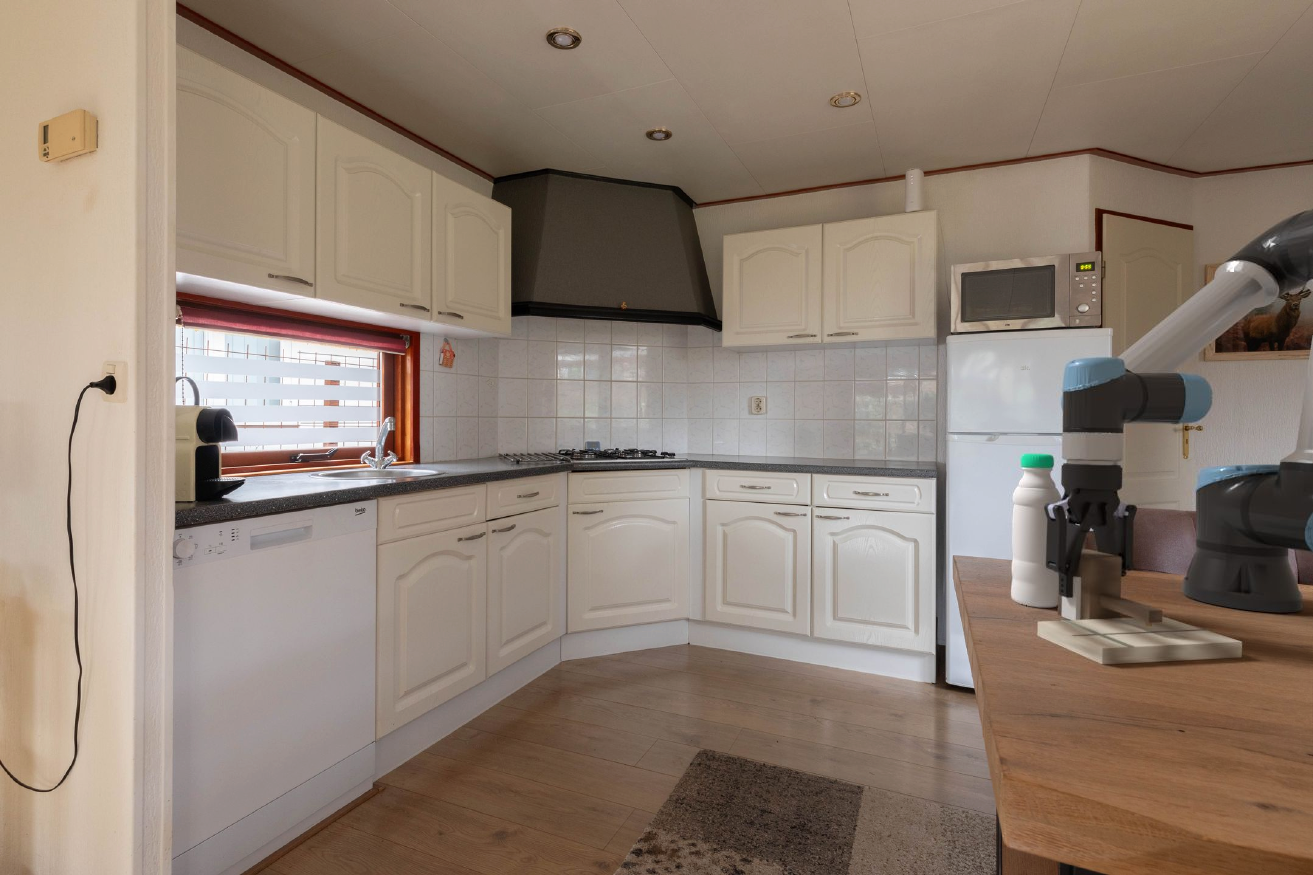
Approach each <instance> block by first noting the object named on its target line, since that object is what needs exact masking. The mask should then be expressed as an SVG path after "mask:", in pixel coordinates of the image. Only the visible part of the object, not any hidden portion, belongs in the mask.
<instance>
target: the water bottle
mask: <svg viewBox="0 0 1313 875" xmlns="http://www.w3.org/2000/svg"><path fill="white" fill-rule="evenodd" d="M1054 466H1055V459H1054V456H1053V455H1052V454H1049V453H1024V454H1022V455H1021V457H1020V467H1021V470H1022V471H1023V476H1022V477H1021V479H1020V480H1019V482H1018V483H1017V484H1018V486H1016V488H1015V489H1014V491H1013V494H1012V503H1013V509H1012V510H1013V511H1012V526H1011V544H1012V545H1011V546H1012V547H1011V548H1012V549H1011V550H1012V557H1013V558H1012V561H1011V577H1012V579H1011V588H1010V589H1011V590H1010V598H1011V599H1012V600H1013V601H1014V602H1015V603H1017V604H1019V605H1022V604H1023V605H1022V606H1026V605H1027V607H1031V608H1040V609H1050V608H1055V607H1058V575H1059V574H1058V573H1057V572H1055V571H1053V570H1051V569H1048V568H1047V567H1046V543H1047V517H1046V513H1045V510H1044V506H1045V504H1055V503H1058V502H1060V501H1061V499H1062V496H1061V493H1060V491H1059V490H1058V488H1057V486H1056V483H1055V481H1054V480H1053V478H1052V477H1051V473H1052V471H1053V470H1054V469H1053V468H1054Z"/></svg>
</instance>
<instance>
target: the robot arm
mask: <svg viewBox="0 0 1313 875" xmlns="http://www.w3.org/2000/svg"><path fill="white" fill-rule="evenodd" d="M1302 287H1303V288H1304V287H1306V288H1308V290H1310V291H1311V292H1313V208H1312V209H1309V210H1305V211H1302V212H1298V213H1296V214H1293V215H1291V216H1289V217H1287V218H1284V219H1283V220H1281V221H1279V222H1278V223H1276V224H1275V225H1273V226H1271V227H1269V228H1268V229H1267V230H1265V231H1264V232H1262V233H1260V235H1258V236H1257V237H1255V238H1253V239H1252V240H1251V241H1250V242H1248V243H1247V244H1246V245H1245V246H1243V247H1242V248H1241V249H1240V250H1238V251H1237V252H1236V253H1234V254H1233V255H1232V256H1231V257H1229V258H1228V259H1227V260H1226V261H1225V262H1223V263H1221V265H1220V266H1218V267H1217V269H1216V270H1215V272H1214V277H1213V279H1212V280H1211V281H1210V282H1209V283H1207V284H1206V285H1205V286H1204V287H1202V288H1201V289H1200V290H1199V291H1198V292H1196V293H1195V294H1194V295H1192V296H1191V297H1190V298H1189V299H1188V300H1186V301H1185V302H1184V303H1182V305H1180V306H1179V307H1177V309H1176V310H1174V311H1173V312H1172V313H1171V314H1169V315H1168V316H1167V317H1165V318H1164V319H1163V320H1162V321H1160V322H1159V323H1158V324H1157V325H1155V326H1154V327H1153V328H1152V329H1150V331H1148V332H1146V334H1144V335H1143V336H1142V337H1141V338H1140V339H1138V340H1137V341H1136V342H1134V343H1133V344H1132V345H1131V346H1130V347H1128V348H1127V349H1126V350H1125V351H1124V352H1122V353H1121V354H1120V355H1119V356H1117V357H1112V356H1109V357H1108V356H1107V357H1106V356H1104V357H1102V356H1101V357H1098V356H1097V357H1087V358H1085V357H1084V358H1076V359H1072V360H1070V361H1068V362H1067V364H1065V367H1064V370H1063V371H1064V372H1063V379H1062V380H1063V381H1062V388H1061V391H1062V394H1061V398H1060V407H1061V410H1062V435H1061V438H1062V440H1061V458H1062V459H1063V460H1066V462H1065V463H1063V464H1061V470H1060V472H1061V474H1060V476H1061V477H1060V484H1061V486H1062V488H1063V495H1062V496H1061V501H1060V502H1058V503H1055V504H1045V506H1044V510H1045V513H1046V517H1047V543H1046V567H1047V568H1048V569H1051V570H1053V571H1055V572H1057V573H1058V574H1059V595H1060V596H1062V616H1061V617H1063V618H1065V619H1066V620H1067V619H1068V620H1080V609H1081V577H1078V576H1075V575H1076V572H1077V568H1078V564H1079V560H1080V556H1081V553H1082V549H1084V545H1085V540H1086V537H1087V534H1088V533H1090V532H1091V530H1092V531H1093V535H1094V539H1095V545H1096V551H1098V552H1102V553H1106V554H1111V555H1115V556H1119V557H1122V565H1121V578H1125V577H1126V576H1127V572H1131V571H1132V570H1133V569H1134V520H1135V517H1136V514H1137V511H1138V507H1137V505H1135V504H1130V503H1129V504H1128V503H1125V502H1123V501H1121V499H1120V497H1119V493H1118V491H1120V490H1122V489H1123V467H1122V466H1121V465H1119V462H1121V461H1123V460H1124V458H1123V457H1124V425H1125V424H1130V425H1131V424H1136V425H1137V424H1143V425H1144V424H1146V425H1147V424H1152V425H1153V424H1166V425H1167V424H1169V425H1170V424H1171V425H1180V424H1194V423H1197V422H1198V421H1201V420H1202V419H1204V418H1205V417H1206V416H1207V414H1208V413H1209V411H1210V410H1211V408H1212V406H1213V389H1212V386H1211V384H1210V383H1209V381H1208V380H1207V379H1206V378H1204V377H1203V376H1201V375H1200V374H1199V375H1198V374H1195V373H1184V372H1183V373H1182V372H1180V371H1178V370H1179V369H1180V368H1181V367H1184V365H1185V364H1186V363H1189V361H1190V360H1192V359H1193V358H1194V357H1195V356H1197V354H1199V353H1200V352H1202V350H1204V349H1206V347H1208V346H1209V345H1210V344H1212V343H1213V342H1214V341H1216V340H1217V339H1218V338H1219V337H1221V336H1222V335H1223V334H1224V333H1225V332H1226V331H1227V330H1229V329H1230V328H1231V327H1233V326H1234V325H1236V323H1238V322H1239V321H1240V320H1242V319H1243V318H1244V317H1245V316H1247V315H1248V314H1249V313H1250V312H1251V311H1252V310H1254V309H1255V308H1256V309H1257V308H1263V307H1267V306H1269V305H1270V304H1272V303H1274V302H1275V301H1276V300H1277V299H1278V298H1280V297H1282V296H1283V295H1285V294H1287V293H1289V292H1291V291H1294V290H1296V289H1300V288H1302ZM1311 338H1312V340H1311V343H1310V344H1311V346H1310V351H1309V359H1308V366H1307V373H1306V378H1305V386H1304V391H1303V392H1304V393H1303V397H1302V398H1303V399H1302V406H1301V413H1300V417H1299V418H1300V419H1299V426H1298V433H1297V440H1296V445H1295V446H1296V447H1295V450H1294V451H1293V452H1292V453H1290V454H1289V455H1287V456H1284V457H1283V458H1281V459H1280V460H1279V461H1280V462H1279V464H1272V463H1271V464H1268V463H1267V464H1242V465H1241V464H1239V465H1236V464H1234V465H1221V466H1220V465H1218V466H1217V465H1216V466H1209V467H1205V468H1202V470H1200V472H1199V473H1198V475H1197V483H1196V487H1195V525H1196V526H1195V552H1194V554H1193V557H1192V559H1191V561H1190V564H1189V566H1188V568H1187V572H1186V575H1185V577H1183V579H1182V586H1181V587H1182V588H1181V589H1182V590H1181V593H1182V594H1183V595H1184V596H1186V597H1188V598H1190V599H1194V600H1195V601H1200V602H1203V603H1207V604H1211V605H1215V606H1221V607H1225V608H1232V609H1239V610H1245V611H1254V612H1265V613H1266V612H1267V613H1298V612H1300V611H1303V592H1302V591H1300V589H1299V585H1298V583H1297V580H1296V576H1295V574H1294V572H1293V570H1292V569H1293V568H1292V567H1291V564H1290V562H1289V550H1295V551H1300V552H1305V553H1309V554H1313V336H1312V337H1311ZM1067 565H1068V567H1067Z"/></svg>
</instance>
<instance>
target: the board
mask: <svg viewBox="0 0 1313 875" xmlns="http://www.w3.org/2000/svg"><path fill="white" fill-rule="evenodd" d="M1037 637H1040V639H1041V638H1042V639H1044V640H1046V641H1048V642H1051V643H1053V644H1055V645H1057V646H1060V647H1061V648H1065V649H1067V650H1069V651H1071V652H1073V653H1075V654H1078V655H1080V656H1083V657H1084V658H1087V659H1089V660H1091V661H1094V662H1096V663H1098V664H1100V665H1117V664H1118V665H1119V664H1136V663H1137V664H1139V663H1157V662H1177V661H1179V662H1180V661H1193V660H1194V661H1196V660H1212V659H1215V660H1217V659H1232V658H1234V659H1235V658H1236V659H1237V658H1242V657H1243V656H1242V655H1243V641H1240V640H1237V639H1234V638H1231V637H1228V636H1225V635H1223V634H1222V635H1221V634H1219V633H1216V632H1213V631H1209V630H1207V629H1203V628H1200V627H1197V626H1194V625H1191V624H1187V623H1184V622H1181V621H1178V620H1175V619H1172V618H1168V617H1165V616H1162V622H1153V623H1152V626H1147V625H1145V621H1143V620H1140V619H1137V618H1134V617H1120V618H1114V619H1090V620H1070V619H1068V620H1067V619H1061V620H1043V621H1042V620H1041V621H1037Z"/></svg>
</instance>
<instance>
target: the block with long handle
mask: <svg viewBox="0 0 1313 875" xmlns="http://www.w3.org/2000/svg"><path fill="white" fill-rule="evenodd" d="M1122 561H1123V560H1122V557H1119V556H1115V555H1111V554H1106V553H1102V552H1098V550H1093V549H1089V548H1088V549H1085V548H1083V549H1082V553H1081V556H1080V560H1079V564H1078V568H1077V572H1076V575H1075V576H1078V577H1081V609H1080V620H1090V619H1114V618H1121V614H1123V615H1125V616H1129V617H1130V618H1137V619H1140V620H1143V621H1145V625H1147V626H1152V623H1153V622H1162V617H1163V609H1160V608H1157V607H1154V606H1150V605H1146V604H1144V603H1140V602H1138V601H1134V600H1131V599H1128V598H1124V597H1122V577H1121V565H1122ZM1067 567H1068V565H1067ZM1057 615H1058V616H1059V617H1062V596H1060V595H1059V575H1058V605H1057Z"/></svg>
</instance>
